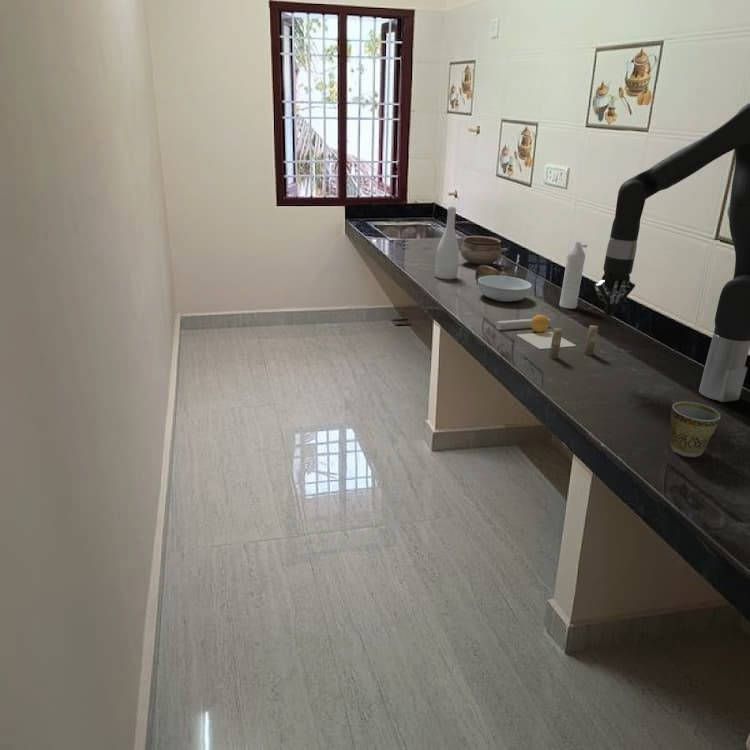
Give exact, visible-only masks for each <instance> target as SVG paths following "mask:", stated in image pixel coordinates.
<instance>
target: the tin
mask: <svg viewBox="0 0 750 750" xmlns="http://www.w3.org/2000/svg"><path fill="white" fill-rule="evenodd" d="M492 275H497V276H501V273H500V271H499V269H497V268H494V267H491V266H490V265H487V266H486V265H480V266H479V267H477V268H476V271H475V280H476V283H477V284H478V279H479V278H480V277H483V276H492Z"/></svg>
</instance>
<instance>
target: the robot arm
mask: <svg viewBox="0 0 750 750" xmlns="http://www.w3.org/2000/svg"><path fill="white" fill-rule="evenodd" d="M731 151H732V152H733V151H734V156H735V158H734V160H735V161H734V169H733V170H734V171H733V177H732V183H731V189H730V200H729V214H728V218H729V219H728V221H729V222H728V224H729V225H728V226H729V231H730V237H731V240H732V244H733V248H734V253H735V264H734V270H733V271H734V273H733V278H732V279H730V280H728V281H727V282H726V283H725V284H724V285H723V287H722V289H721V292H720V294H719V299H718V303H717V306H716V311H715V316H714V331H713V334H712V338H711V341H710V346H709V349H708V353H707V357H706V361H705V366H704V369H703V373H702V377H701V380H700V381H701V382H700V385H699V390H698V393H700V394H701V395H702V396H704V397H706V398H708V399H711V400H714V401H715V400H716V401H718V402H721V403H725V402H734V401H739V399H740V395H741V393H742V389H743V386H744V382H745V378H746V375H747V371H748V367H747V366H745V365H746V362H747V358H748V356H749V351H750V102H748V103H747V104H745V105H744V106H743V107H741V108H740V109H739V110H738V112H737V113H736V114H735V115H733V116H732V117H731V118H730V119H729V120H727V121H726V122H725V123H723V124H722V125H721V126H719V127H718V128H717V129H715V130H713V131H712V132H710V133H708V134H707V135H706V136H703V137H702V138H700V139H698V140H696V141H694V142H693V143H692V142H691V144H688V145H686V146H684V147H683V148H681V149H680V150H677V151H676V152H674V153H672V154H671V155H669V156H667V157H666V158H664V159H663V160H660V161H659V162H656V164H654V165H653V166H651V167H650V168H648V169H645V170H644V171H642V172H640V173H639V174H636V175H635V176H632V177H631V178H629V179H627V180H626V181H623V182H622V184H621V185H620V186H619V189H618V194H617V199H616V206H615V213H614V219H613V221H612V225H611V231H610V235H609V240H608V243H607V248H606V252H605V258H604V263H603V268H602V269H603V272H604V273H603V275H602V277H601V280H600V281H599V282H598V283H597V282H596V283H595V282H594V284H593V288H594V289H595V292H596V295H598V298H599V300H601V301H602V302H604V308H603V314H604V316H606V317H614V315H615V314H616V308H617V305H618V304H619V302H623V301H625V299H626V298H627V297H628V296H629V295H630V294H631V292H632V291H633V290H634V289H635V287H636V284H635V283H633V282H631V276H630V275H631V274H632V273H633V269H634V263H635V259H636V258H635V257H636V253H637V247H638V246H637V245H638V244H637V243H638V237H639V232H640V225H641V218H642V215H643V211H644V207H645V204H646V200H647V199H649V198H650V197H652V196H654V195H655V194H656V193H659V192H661V191H663V190H667V189H669V188H671V187H673V186H674V185H676V184H678V183H680V182H681V181H683V180H686V179H687V178H689V177H690V176H692V175H694V174H695V173H696V172H697V173H698V171H700V170H702V169H703V168H704V167H706V166H707V165H709V164H711V163H712V162H714V161H715V160H718V158H720V157H723V155H726V154H728V153H730V152H731Z"/></svg>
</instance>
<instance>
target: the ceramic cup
mask: <svg viewBox="0 0 750 750" xmlns="http://www.w3.org/2000/svg"><path fill="white" fill-rule="evenodd" d="M670 415H671V416H670V425H671V426H670V442H669V443H670V444H669V445H670V448H671V450H672V451H673V452H674V453H676V454H677V455H680V456H682V457H688V458H697V457H699V456H701V455H702V454H704V451H705V450H706V447H707V445H708V444H709V443H710V440H711V438H712V435H713V434H714V433H715V430H716V428H718V427H717V426H718V425H719V422H720V420H721V413H720V412H718V410H716V409H715V408H714V407H713V406H708V405H705V404H702V403H700V402H692V401H678V402H675V403H673V404H672V405H671V413H670Z"/></svg>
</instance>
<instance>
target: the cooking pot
mask: <svg viewBox="0 0 750 750" xmlns="http://www.w3.org/2000/svg"><path fill="white" fill-rule="evenodd" d="M462 238H463V241H462V244H461V246H459V245H458V247H459V252H460V255H461V256H462V258H463V260H464V261H466V262H468V263H469V264H471V266H473V267H477V268H478V267H479V266H480V265H486V266H490V265H491V264H494V263H495V262H496V261H498V260H499V259H500V256H501V254H503V253H504V252H506V251H508V250H509V249H508V248H507V247H504V248H502V247H501V244H500V243H501V242H502V240H501V239H500V238H496V237H492V236H484V235H467V236H464V237H462Z"/></svg>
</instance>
